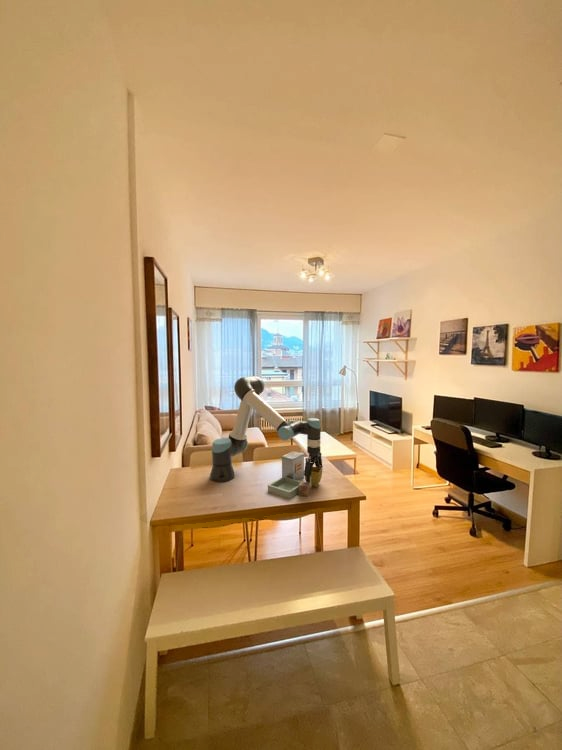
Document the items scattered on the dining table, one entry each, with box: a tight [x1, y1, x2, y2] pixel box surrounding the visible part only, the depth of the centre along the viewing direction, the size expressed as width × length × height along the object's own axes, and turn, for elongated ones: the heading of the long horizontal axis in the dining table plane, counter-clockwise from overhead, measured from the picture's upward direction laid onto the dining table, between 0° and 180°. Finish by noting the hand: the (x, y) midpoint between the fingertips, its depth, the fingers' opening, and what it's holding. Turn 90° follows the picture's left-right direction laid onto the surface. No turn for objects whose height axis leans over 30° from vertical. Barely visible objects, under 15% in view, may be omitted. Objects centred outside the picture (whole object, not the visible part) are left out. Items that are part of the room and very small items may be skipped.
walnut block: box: [298, 481, 311, 498], centre depth 165 cm, size 5×5×6 cm
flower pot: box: [304, 466, 323, 487], centre depth 175 cm, size 9×9×9 cm
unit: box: [280, 450, 305, 481], centre depth 186 cm, size 9×13×15 cm
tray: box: [267, 476, 302, 500], centre depth 171 cm, size 15×15×4 cm
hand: (313, 484), depth 175 cm, fingers closed on flower pot, 9 cm apart
